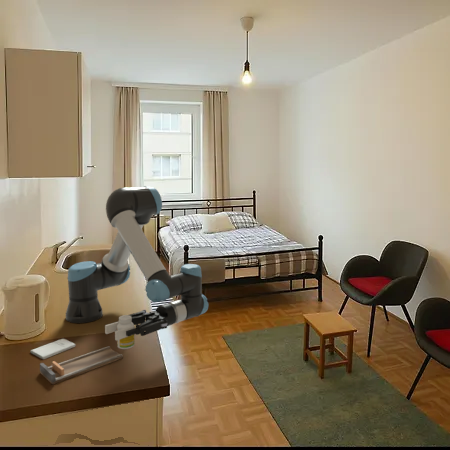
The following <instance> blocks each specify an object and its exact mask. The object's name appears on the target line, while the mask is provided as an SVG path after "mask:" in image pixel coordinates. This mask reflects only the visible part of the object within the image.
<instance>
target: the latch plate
mask: <svg viewBox="0 0 450 450" xmlns="http://www.w3.org/2000/svg"><path fill="white" fill-rule="evenodd" d="M51 366H52V368H53V369H54V370H55V371H56V372H57V373H58V374H60V375H61V376H63V375H64V368H62V367H61V366H60V365H59V364H58V362H56V360H54V361H52V362H51Z"/></svg>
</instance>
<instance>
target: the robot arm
mask: <svg viewBox="0 0 450 450" xmlns="http://www.w3.org/2000/svg"><path fill="white" fill-rule="evenodd" d="M162 208H163V200H162V196H161V193H160V192H159V191H158V190H157V188H155V187H153V186H146V185H144V186H136V187H135V186H133V187H132V186H131V187H119V188H117V189H115V190H113V191H112V192H111V193H110V194H109V196H108V197H107V200H106V204H105V212H106V217H107V219H108V221H109V224H110V225H111V227H112V228H114V229H116V230H117V233H116V235H115V237H114V240H113V242H112V244H111V247H110V250H109V252H108V253H106V254H105V255H103V257H102V259H101V262H96V261H92V260H91V261H90V260H87V261H86V260H85V261H81V262H76V263H74V264H73V265H70V266H69V268H68V269H67V285H68V300H69V301H68V304H67V306H66V307H67V308H66V310H65V320H66V321H67V322H69V323H72V324H86V323H91V322H94V321H97V320H99V319H101V318H102V317H103V313H104V312H103V307H102V304H101V303H100V300H99V298H98V297H99V296H98V291H100V290H103V289H104V290H105V289H108V288H113V287H117V286H120V285H122V284H125V283H126V282H127V281H128V280H129V278H130V276H131V271H130V270H131V266H130V264H129V258H130V255H132V257H133V260H134V261H135V263H136V264H137V266H138V268H139V270H140V271H141V273H142V275H143V276H144V279H145V280H146V281H147V283H146V284H145V292H146V297H147V299H149V300H150V302H153V303H158V302H165V301H167V300H169V299H171V298H175V297H178V296H180V298H181V299H178V300H174V301H170V302H167V303H164V304H160V305H159V306H157V308H155V311H154V310H153V311H149V312H147V310H146V309H142V310H141V311H138V312H134V313H130V314H129V315H130V316H131V317H132V321H131V322H132V323H133V324H134V326H130V327H127V328H124V329H121V330H118V331H117V325H118V323H119V320H118V321H115V322H112V323H108V324H105V325H104V333H105V335H108V334H112V333H114V340H115V341H116V342H117V340H120V339H123V338H125V337H128V336H131V335H134V336H135V335H137V336H138V335H140V337H141V336H142V337H143V336H146V335H149V334H153V333H155V332H158V331H160V330H164V329H168V327H169V326H172V325H175V324H179V323H180V322H184V321H186V320H188V319H193V318H195V317H199V316H200V315H203V314H205V313H206V312H207V311H208V309H209V302H208V298H207V296H205V295H204V294H203V293H202V290H203V289H202V288H203V287H202V284H203V283H202V279H203V276H202V268H201V266H200V265H199V264H196V263H194V264H193V263H185V264H182V265H181V267H180V271H179V273H175V274H171V275H170V274H169V272H168V271H167V269H166V267H165V266H164V264H163V262H162V261H161V259H160V257H159V256H158V254H157V253H156V251H155V249H154V247H153V246H152V244H151V243H150V242H151V241H149V239H148V238H147V236H146V234H145V233H144V230H143V227H144V226H145V225H147V224H149V223H150V221H151V219H152V217H153V215H154V216H157V215H159V214H160V213H161V211H162Z"/></svg>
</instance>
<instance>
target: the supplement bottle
mask: <svg viewBox="0 0 450 450" xmlns="http://www.w3.org/2000/svg"><path fill="white" fill-rule="evenodd" d="M118 321H119V323H118V325H117V331H118V330H121V329H124V328H127V327H130V326H135V325H134V324H133V323H132V322H131V321H132V317H131V316H130V314H124V315H123V314H122V315H120V316H119V317H118ZM116 345H117V348H118V349H121V350H129V349H131V348H133V347H134V346H135V334H134V335H131V336H128V337H125V338H123V339H120V340H117V341H116Z"/></svg>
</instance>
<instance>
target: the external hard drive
mask: <svg viewBox="0 0 450 450" xmlns="http://www.w3.org/2000/svg"><path fill="white" fill-rule="evenodd" d="M75 347H76V343H74V342H72V341H71V340H70V341H69V340H68V339H66V338H61V339H60V338H59V339H58V340H55V341H52V342H49V343H47V344H44V345H41V346H39V347H37V348H34V349H30V354H32V355H34V356H36V357H38V358H39V359H42V360H46V359H48V358H51V357H53V356H55V355H57V354H58V355H59V354H60V353H63V352H65V351H68V350H70V349H73V348H75Z"/></svg>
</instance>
